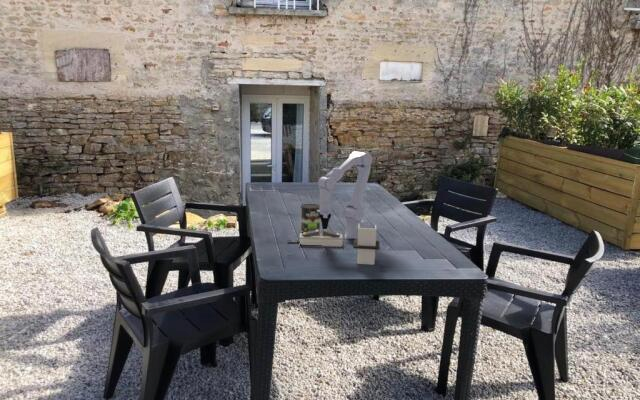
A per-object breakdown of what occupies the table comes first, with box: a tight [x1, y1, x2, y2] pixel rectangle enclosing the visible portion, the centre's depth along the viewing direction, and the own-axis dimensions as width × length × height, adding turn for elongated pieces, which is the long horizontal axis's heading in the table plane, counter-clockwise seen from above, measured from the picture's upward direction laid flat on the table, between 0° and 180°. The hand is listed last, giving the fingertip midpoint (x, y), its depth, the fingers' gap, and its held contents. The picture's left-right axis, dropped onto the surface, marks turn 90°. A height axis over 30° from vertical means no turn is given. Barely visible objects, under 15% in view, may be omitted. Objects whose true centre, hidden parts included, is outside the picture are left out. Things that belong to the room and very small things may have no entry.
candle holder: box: [353, 224, 381, 265], centre depth 205 cm, size 25×24×16 cm
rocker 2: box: [322, 228, 340, 237], centre depth 230 cm, size 8×4×2 cm, turn 90°
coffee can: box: [300, 203, 321, 232], centre depth 249 cm, size 10×10×14 cm
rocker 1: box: [303, 229, 321, 237], centre depth 230 cm, size 8×4×2 cm, turn 90°
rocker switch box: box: [287, 232, 343, 248], centre depth 231 cm, size 27×9×4 cm, turn 90°
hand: (324, 228), depth 229 cm, fingers closed
